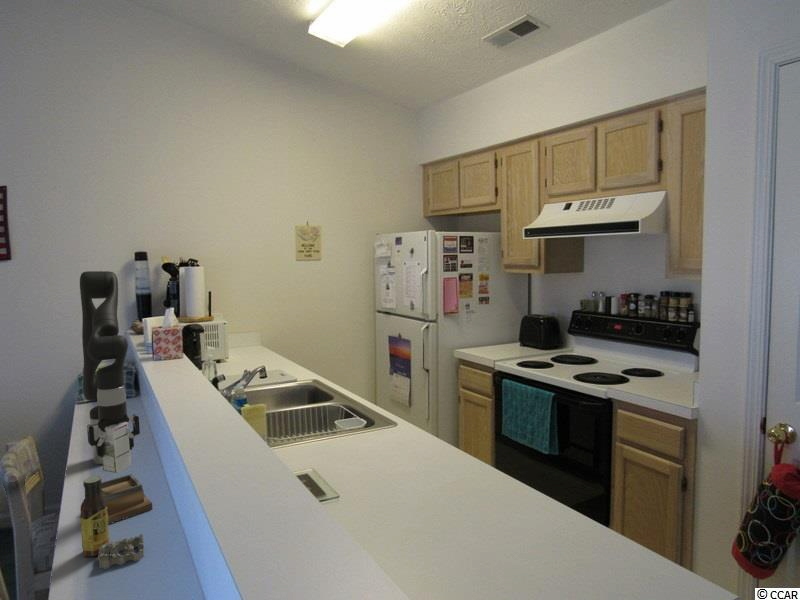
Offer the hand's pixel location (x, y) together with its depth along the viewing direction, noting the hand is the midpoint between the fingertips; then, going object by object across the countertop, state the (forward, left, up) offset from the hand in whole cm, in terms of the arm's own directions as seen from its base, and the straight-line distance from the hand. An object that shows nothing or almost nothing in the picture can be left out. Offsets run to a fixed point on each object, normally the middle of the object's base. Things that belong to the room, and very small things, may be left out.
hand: (115, 452), depth 158 cm
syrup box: (0, 0, -5) cm, 5 cm away
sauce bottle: (+20, -11, -18) cm, 29 cm away
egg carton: (+28, -7, -18) cm, 34 cm away
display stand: (0, 0, -18) cm, 18 cm away
